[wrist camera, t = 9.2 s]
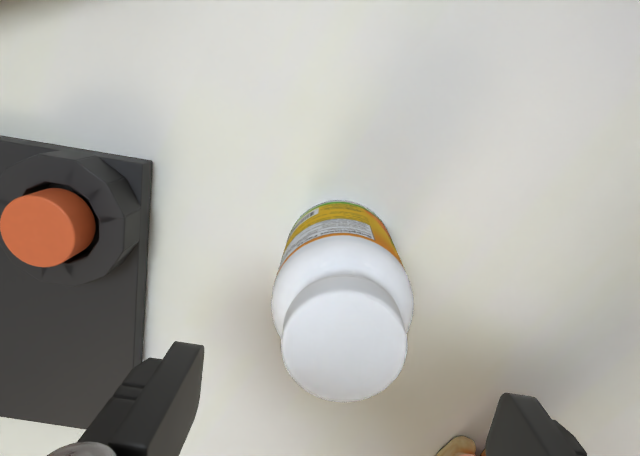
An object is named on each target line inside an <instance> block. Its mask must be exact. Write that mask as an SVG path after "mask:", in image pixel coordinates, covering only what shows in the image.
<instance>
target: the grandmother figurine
mask: <svg viewBox="0 0 640 456" xmlns="http://www.w3.org/2000/svg"><path fill="white" fill-rule="evenodd" d="M475 451H476V445H475V443H474V442H473V440H471V439H469V438H467V437H465V436H458V437H455V438H454V439H453V440H451V441H450V442H449V443H448V444H447V445H446V446H445V447H444V448H442V449H441V450H440V451H439V452H438V454H437V455H436V456H475V455H474V454H475ZM481 456H486V453H485V449H484V451H483V453H482V454H481Z"/></svg>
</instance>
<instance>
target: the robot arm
mask: <svg viewBox="0 0 640 456" xmlns="http://www.w3.org/2000/svg"><path fill="white" fill-rule="evenodd" d="M203 360H204V346H203V345H197V344H190V343H184V342H177V341H175V342H174V343H173V344H172V346H171V347H170V349H169V350H168V352H167V353H166V355H165V357H164V358H163V360H162V359H156V358H148V359H147V360H145V361H144V362H142V363H140V364H139V365H137V366H136V367H134V368H133V369H132V370H131V371H130V373H129V374H128V375H127V377H126V378H125V379H124V381H123V382H122V385H120V386H119V387H118V389H117V390H116V391H115V393H114V394H113V397H111V398H110V399H109V400H108V402H107V403H106V404H105V406H104V407H103V408H102V410H101V411H100V412H99V414H98V415H97V416H96V418H95V419H94V420H93V422H92V423H91V424H90V426H89V427H88V428H87V430H86V431H85V432H84V434H83V435H82V436H81V438H80V439H79V440H78V442H77V443H73V444H69V445H66V446H64V447H61V448H59V449H57V450H55V451H53V452H52V453H50V454H49V455H47V456H179V454H180V451H181V449H182V447H183V444H184V442H185V440H186V438H187V435H188V433H189V431H190V428H191V426H192V424H193V421H194V419H195V416H196V412H197V408H198V404H199V399H200V391H201V381H202V371H203ZM485 453H486V456H587V453H586V451H585V450H584V449H583V447H582V446H581V445H580V443H579V442H578V441H577V439H576V438H575V437H574V436H573V435H572V434H571V433H570V432H569V431H568V430H566V429H565V428H564V427H563V426H562V425H560V424H559V423H558V422H557V421H556V420H552V419H551V418H550V416H549V415H548V413H547V412H546V411H545V409H544V408H543V406H542V405H541V404H540V402H539V401H538V400H537V399H536V398H535V397H531V396H525V395H518V394H512V393H504V394H502V396H501V397H500V399H499V402H498V405H497V408H496V412H495V415H494V418H493V421H492V424H491V427H490V430H489V433H488V436H487V440H486V447H485Z"/></svg>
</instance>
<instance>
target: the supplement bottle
mask: <svg viewBox="0 0 640 456" xmlns="http://www.w3.org/2000/svg"><path fill="white" fill-rule="evenodd" d="M271 309H272V317H273V321H274V325H275V327H276V330H277V332H278V334H279V336H280V338H281V352H282V358H283V361H284V364H285V367H286V369H287V371H288V372H289V374H290V376H291V377H292V378H293V380H294V381H295V382H296V383H297V384H298V385H299V386H300V387H301V388H303V389H304V390H306V391H307V392H309V393H310V394H312V395H314V396H317V397H319V398H321V399H325V400H329V401H334V402H355V401H360V400H364V399H367V398H370V397H372V396H374V395H376V394H378V393H380V392H381V391H383V390H384V389H385V388H387V387H388V386H389V385H390V384H391V383H392V382H393V381H394V380H395V379H396V377H397V376H398V375H399V373H400V372H401V370H402V367H403V365H404V363H405V359H406V355H407V348H408V345H407V335H406V334H407V332H408V330H409V327H410V324H411V321H412V317H413V310H414V299H413V292H412V288H411V284H410V281H409V278H408V276H407V273H406V271H405V269H404V267H403V264H402V262H401V260H400V258H399V255H398V253H397V251H396V248H395V246H394V244H393V242H392V240H391V238H390V235H389V233H388V231H387V229H386V228H385V226H384V224H383V223H382V221H381V220H380V219H379V218H378V217H377V216H376V215H375V214H374V213H373V212H372V211H371V210H369V209H368V208H366V207H364V206H362V205H360V204H357V203H354V202H349V201H342V200H335V201H328V202H324V203H321V204H319V205H316V206H314V207H312V208H311V209H309V210H308V211H306V212H305V213H304V214H303V215H302V216H301V217H300V218H299V219H298V220H297V222H296V223H295V225H294V226H293V228H292V230H291V232H290V234H289V237H288V240H287V243H286V246H285V249H284V253H283V256H282V260H281V263H280V266H279V270H278V273H277V276H276V279H275V282H274V286H273V292H272V300H271Z"/></svg>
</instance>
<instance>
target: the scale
mask: <svg viewBox="0 0 640 456" xmlns="http://www.w3.org/2000/svg"><path fill="white" fill-rule="evenodd" d="M151 175H152V161H151V160H144V159H138V158H132V157H126V156H120V155H114V154H108V153H102V152H96V151H90V150H84V149H78V148H72V147H66V146H60V145H54V144H48V143H42V142H36V141H30V140H23V139H17V138H11V137H5V136H0V219H1V215H2V213H3V211H4V209H5V208H6V206H7V205H8V204H9V203H10V202H11V201H13V200H14V199H16V198H18V197H21V196H24V195H28V194H31V193H34V192H38V191H41V190H44V189H48V188H61V189H65V190H68V191H71V192H73V193H75V194H76V195H78V196H79V197H81V198H82V199H83V200H84V201H85V202H86V203H87V205H88V206H89V207H90V209H91V211H92V213H93V215H94V218H95V224H96V229H95V235H94V238H93V240H92V242H91V244H90V245H89V246H88V247H87V248H86V249H85V250H83V251H82V252H80V253H78V254H76V255H75V256H73V257H71V258H70V259H68V260H66V261H65V262H63V263H61V264H59V265H57V266H53V267H37V266H33V265H30V264H27V263H25V262H23V261H22V260H20V259H19V258H17V257H16V256H15V255H14V254H13V253H12V252H11V251H10V250H9V249H8V247H7V246H6V244H5V242H4V240H3V238H2V235H1V231H0V416H1V417H7V418H14V419H21V420H27V421H34V422H41V423H47V424H54V425H61V426H67V427H74V428H81V429H87V428H88V427H89V426H90V424H91V423H92V422H93V420H94V419H95V418H96V416H97V415H98V414H99V412H100V411H101V410H102V408H103V407H104V406H105V404H106V403H107V402H108V400H109V399H110V398H111V397H113V394H114V393H115V391H116V390H117V389H118V387H119V386H120V385H122V382H123V381H124V379H125V378H126V377H127V375H128V374H129V373H130V371H131V370H132V369H133V368H134V367H136V366H137V365H139V364H140V363H142V347H143V328H144V309H145V290H146V271H147V252H148V232H149V213H150V194H151Z"/></svg>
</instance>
